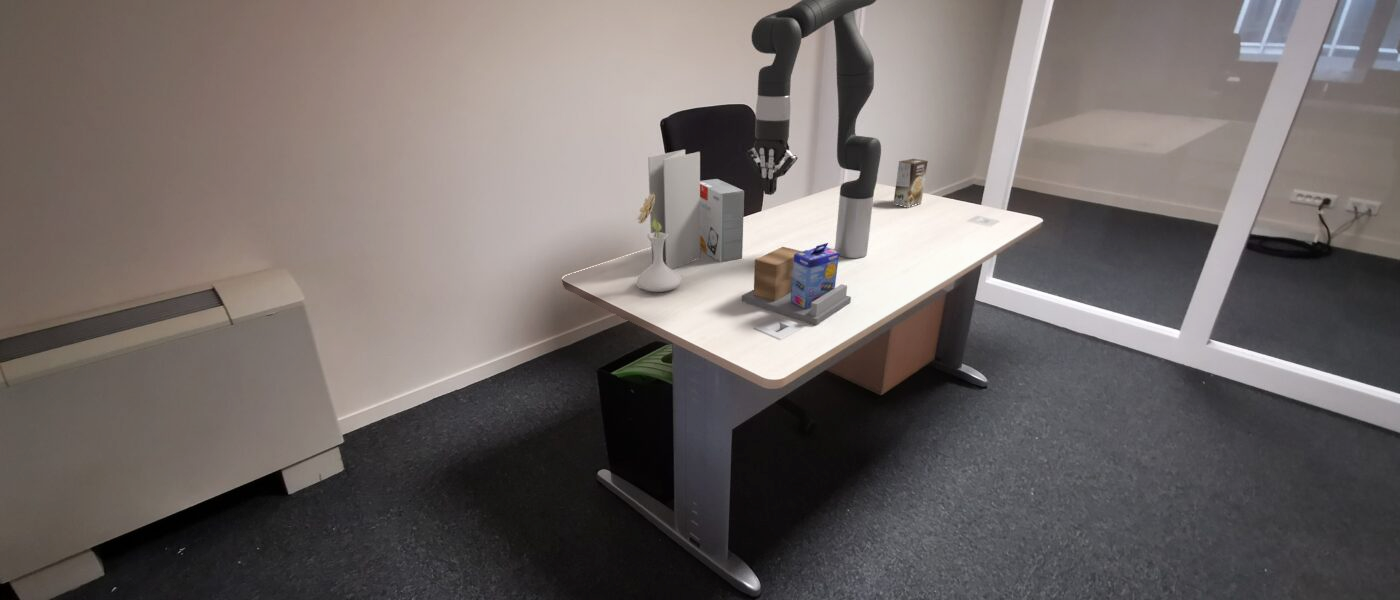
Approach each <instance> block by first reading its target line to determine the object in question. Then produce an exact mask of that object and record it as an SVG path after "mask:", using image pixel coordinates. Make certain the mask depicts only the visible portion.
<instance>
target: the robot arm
mask: <svg viewBox="0 0 1400 600" xmlns="http://www.w3.org/2000/svg"><path fill="white" fill-rule="evenodd" d="M875 2H877V0H800V1H798V2H796V3H795V4H793V5H792V6H791V7H789V8H785V9H782V10H779V11H775V12H773V13H771V14H767V15H766V16H763V17H762V18H760V19H759V20H758V21H757V22H756V23H755V25H754V26H753V28H752V32H751V44H752V45H753V48H754V49H755V50H756V51H758V52H759V53H762V54H768V55H769V54H771V55H773V54H774V55H775V57H774V59H773V62H772V64H771V65H766V66H763V67H761V68H760V69H759V71H758V77H757V79H758V81H757V99H756V105H755V126H754V127H755V130H754V134H755V135H754V137H755V142H754V143H753V147H752V148H751V149H750V150H747V151H746V152H745V156H746V159H748V162H749V164H750V165H751V167H752V169H753V171H754V172H755V174H757V175H760V176H761V177H762V179H763V180H762V191H763V192H764V193H763V194H764V195H769V196H771V195H774V194H775V193H776V192H777V186H778V185H777V184H778V178H780V177H783V176H785V175H786V174H787V173H788V172H789V170H790V169H791V168H792V166H793V165H794V164H795V163H796V162H797V160H798V155H796V154H792V152H791V151H790V146H789V142H788V141H789V138H790V120H791V96H790V95H791V82H792V81H791V79H792V74H793V70H794V67H795V64H796V61H797V56H798V54H799V51H800V47H801V43H802V39H805V38H807V37H809V36H810V35H812V34H813V33H815V32H816V31H818V30H819V29H820V28H821V29H822V28H823V27H824V26H826V25H828V24H829V23H830V22H833V27H834V37H835V53H836V54H835V57H836V61H835V62H836V64H835V65H836V69H835V70H836V88H837V108H838V109H837V111H838V112H837V113H838V114H837V115H838V117H837V119H838V121H837V139H836V140H837V141H836V158H837V164H838V166H839V167H840V168H841V169H843V170H849V171H857V172H859V175H858V178H857V179H854V180H849V181H845V182H843V183H842V184H840V186H839V187H840V188H839V198H838V199H839V200H838V209H837V210H838V212H837V220H836V221H837V222H836V231H835V244H834V250H835V251H838V252H839V256H840V257H843V258H847V259H849V258H850V259H858V258H864V257H866V256H867V254H868V249H869V248H868V247H869V239H870V230H871V221H872V212H873V203H874V194H875V189H876V185H877V181H878V173H879V167H880V162H881V157H882V156H881V155H882V143H881V141H880V140H879V138H876V137H871V136H861V135H857V134H856V126H857V125H856V123H857V119H858V117H859V115H860V112H861V111H862V109H863V108H864V106H865V105H866V103H867V101H868V100H869V98H870V96H871V94H872V92H873V90H874V87H875V63H874V62H875V61H874V57H873V55H872V52H871V50H870V48H869V46H868V45H867V43H866V41H865V40H864V38H863V36H862V34H861V33H860V31H859V28H858V26H857V21H856V15H855V11H856V10H859V9H862V8H866V7H869V6H870V5H873V4H875ZM782 161H783V162H782Z"/></svg>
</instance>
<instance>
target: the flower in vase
mask: <svg viewBox="0 0 1400 600" xmlns="http://www.w3.org/2000/svg"><path fill="white" fill-rule="evenodd" d="M654 203H655V195H654V193H653V195H651V193H650V195H648V197H645V198H644V203H643V206H642V207H640V208H639V213H640V214H639V216H638V217H637V218H636V220H637V221H638V224H641V225H642V224H644V222H646V221H647V219H648V217H650V213H652V215H653V216H654V218H655V219H654V220H653V222H652V224H651V225H650V227H651V226H652V227H653V228H654V229H655V230H656V232H655V233H651V232H650V233H649V234H647V238H648V240H649V241H650V244H651V243H652V247H653V254H654V260H653V264H652V263H651V265H649V267H647V268H646V269H645V270H644V271H643V272H641V273H640V274H639V276H638V277H637V278H636V280H635V281H636V285H637V286H638V288H640V289H642V290H643V291H648V292H654V293H660V292H661V293H663V292H668V291H671V290H675V289H676V288H678V287H679V286H680V285H681V283H682V278H681V276H680V275H679V274H678V273H677V272H676V271H675V270H674V269H670V268H669V267H667V266H666V263H664V262H663V244H664V241H665V239H666V238H667V236H668V235H667V234H666V233H661V232H659V231H660V230H661V228H662V227H661V225H660V224H659V223H658V221H657V219H656V217H655V215H654V213H653V211H652V208H653V205H654Z"/></svg>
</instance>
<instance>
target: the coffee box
mask: <svg viewBox="0 0 1400 600" xmlns="http://www.w3.org/2000/svg"><path fill="white" fill-rule="evenodd" d="M928 162H929V161H928V160H924V159H917V158H910V159H904V160H903V159H902V160H900V161H898V166H897V175H896V182H895V190H894V196H893V202H892V203H893V204H898V205H902V206H906V207H909V206H912V205H915V204H918V203H921V204H922V200H923V194H924V187H925V183H926V182H925V181H926V174H927V169H928V168H927V167H928ZM893 204H892V205H893ZM909 208H910V207H909Z"/></svg>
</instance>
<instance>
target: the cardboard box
mask: <svg viewBox="0 0 1400 600" xmlns="http://www.w3.org/2000/svg"><path fill="white" fill-rule="evenodd" d="M802 251H803V250H798V249H794V248H790V247H786V246H781V247H780V248H777V249H775V250H773V251H770V252H768V253H766V254H764V255H761V256H760V257H758V258H755V259H754V274H753V275H754V276H753V290H754V295H756V296H759V297H762V298H766V299H769V300H772V301H776V300H778V299H779V298H781V297H783V296H785V295H787V294H788V293H790V292H791V289H792V277H793V265H794V254H796V253H799V252H802Z"/></svg>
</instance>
